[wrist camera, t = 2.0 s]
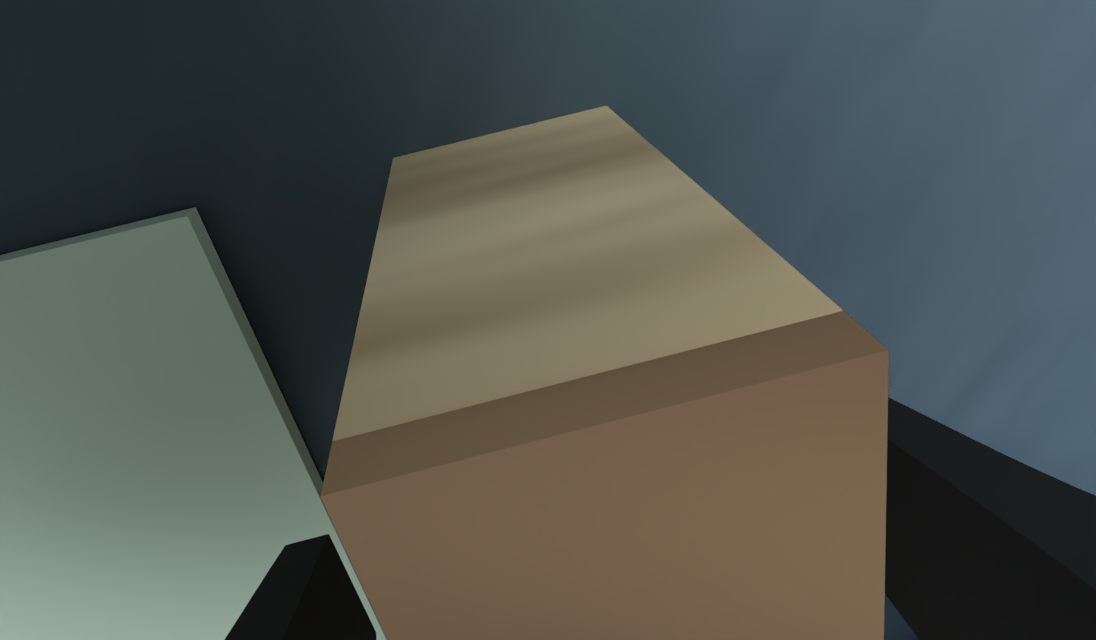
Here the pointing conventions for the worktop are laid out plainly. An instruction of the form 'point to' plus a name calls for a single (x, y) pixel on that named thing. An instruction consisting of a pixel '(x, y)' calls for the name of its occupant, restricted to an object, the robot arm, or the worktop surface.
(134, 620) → the rubber mat
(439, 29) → the worktop surface
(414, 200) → the oak slab
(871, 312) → the worktop surface
